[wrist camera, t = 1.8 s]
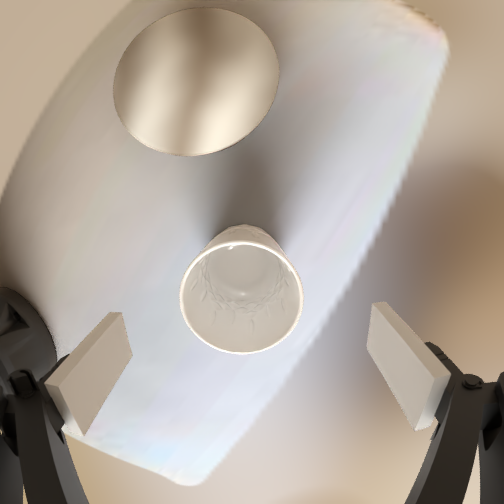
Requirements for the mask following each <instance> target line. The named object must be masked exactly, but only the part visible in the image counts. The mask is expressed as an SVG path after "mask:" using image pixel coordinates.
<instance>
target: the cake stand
mask: <svg viewBox="0 0 504 504" xmlns="http://www.w3.org/2000/svg"><path fill="white" fill-rule="evenodd" d="M278 82H279V64H278V58H277V55H276V52H275V49H274V47H273V45H272V43H271V41H270V40H269V38H268V37H267V35H266V34H265V33H264V32H263V31H262V30H261V29H260V28H259V27H258V26H257V25H256V24H255V23H253V22H252V21H251V20H249V19H247V18H245V17H244V16H242V15H239V14H237V13H234V12H232V11H228V10H224V9H218V8H204V7H202V8H192V9H186V10H182V11H178V12H175V13H172V14H170V15H167V16H165V17H163V18H161V19H159V20H157V21H156V22H154V23H152V24H151V25H150V26H148V27H147V28H145V29H144V30H143V31H142V32H141V33H140V34H139V35H138V36H137V37H136V38H135V39H134V40H133V41H132V42H131V43H130V45H129V46H128V48H127V49H126V50H125V52H124V54H123V56H122V58H121V59H120V62H119V64H118V67H117V69H116V73H115V78H114V85H113V97H114V103H115V107H116V110H117V113H118V116H119V118H120V120H121V122H122V124H123V125H124V126H125V128H126V129H127V130H128V132H129V133H130V134H131V135H132V136H133V137H134V138H136V139H137V140H138V141H140V142H141V143H142V144H144V145H146V146H148V147H150V148H152V149H155V150H157V151H160V152H163V153H168V154H172V155H179V156H199V155H205V154H210V153H214V152H218V151H221V150H224V149H227V148H229V147H231V146H233V145H235V144H237V143H238V142H240V141H241V140H242V139H244V138H245V137H246V136H247V135H248V134H250V133H251V132H252V131H253V130H254V129H255V128H256V127H257V126H258V125H259V124H260V122H261V121H262V120H263V119H264V117H265V116H266V114H267V113H268V111H269V109H270V107H271V105H272V103H273V101H274V98H275V94H276V91H277V88H278Z"/></svg>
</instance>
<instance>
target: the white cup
mask: <svg viewBox="0 0 504 504" xmlns="http://www.w3.org/2000/svg"><path fill="white" fill-rule="evenodd" d="M179 301H180V308H181V311H182V314H183V317H184V319H185V321H186V323H187V325H188V326H189V328H190V329H191V330H192V332H193V333H194V334H195V335H196V336H197V337H198V338H199V339H201V340H202V341H203V342H205V343H206V344H208V345H209V346H211V347H213V348H215V349H218V350H220V351H224V352H227V353H233V354H252V353H257V352H261V351H264V350H267V349H269V348H271V347H273V346H275V345H277V344H278V343H280V342H281V341H282V340H284V339H285V338H286V337H287V336H288V335H289V334H290V333H291V332H292V330H293V329H294V327H295V326H296V324H297V323H298V321H299V318H300V316H301V313H302V309H303V302H304V293H303V287H302V283H301V280H300V277H299V275H298V273H297V271H296V269H295V268H294V266H293V265H292V263H291V262H290V260H289V259H288V257H287V256H286V254H285V253H284V251H283V250H282V248H281V247H280V246H279V245H278V243H277V242H276V241H275V240H274V239H273V238H272V237H271V236H270V235H269V234H267V233H266V232H265V231H264V230H263V229H262V228H259V227H255V226H251V225H247V224H242V225H237V226H232V227H228V228H227V229H225V230H224V231H223V232H222V233H220V234H218V235H217V236H216V237H214V238H213V239H212V240H211V241H210V242H209V243H208V244H207V245H206V246H205V247H204V249H203V250H202V251H201V252H200V253H199V254H198V256H197V257H196V258H195V259H194V260H193V261H192V262H191V264H190V265H189V266H188V268H187V270H186V271H185V273H184V276H183V278H182V281H181V285H180V291H179Z"/></svg>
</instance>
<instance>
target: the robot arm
mask: <svg viewBox="0 0 504 504" xmlns="http://www.w3.org/2000/svg"><path fill="white" fill-rule="evenodd" d="M367 349H368V351H369V353H370V355H371V356H372V358H373V360H374V361H375V363H376V365H377V366H378V368H379V370H380V372H381V373H382V375H383V377H384V378H385V380H386V382H387V383H388V385H389V387H390V389H391V391H392V392H393V394H394V396H395V398H396V399H397V401H398V403H399V405H400V406H401V408H402V410H403V412H404V414H405V415H406V417H407V419H408V421H409V423H410V424H411V426H412V428H413V430H414V431H417V430H420V429H423V428H427V427H430V425H431V423H432V421H433V418H434V416H435V417H436V419H437V420H438V422H439V423H438V425H437V427H436V429H435V431H434V433H433V435H432V437H431V440H432V441H431V444H430V446H429V449H428V452H427V454H426V457H425V459H424V462H423V464H422V467H421V469H420V472H419V474H418V476H417V478H416V481H415V483H414V485H413V487H412V489H411V491H410V494H409V496H408V498H407V500H406V502H405V504H462V502H463V500H464V497H465V493H466V490H467V486H468V483H469V479H470V476H471V472H472V467H473V463H474V459H475V454H476V450H477V445H478V447H479V460H480V504H504V372H502V373H501V374H500V376H499V378H498V380H497V382H490V383H484V382H483V380H482V379H481V378H479V377H478V376H475V375H472V374H463V373H462V372H461V371H460V370H459V369H458V367H457V366H456V365H455V364H454V363H453V362H452V361H451V360H450V359H448V357H447V356H446V355H445V354H444V352H443V351H442V350H441V349H440V348H439V347H438V346H436V345H434V344H432V343H431V342H426V343H423V341H421V339H420V338H419V337H418V336H417V335H416V334H415V333H414V332H413V331H412V329H411V328H410V327H409V326H408V325H407V324H406V323H405V322H404V321H403V320H402V319H401V318H400V317H399V316H398V315H397V314H396V312H395V311H394V310H393V309H392V308H391V307H390V306H389V305H388V304H387V303H386V302H379V303H372V309H371V318H370V326H369V333H368V341H367ZM132 356H133V355H132V352H131V348H130V344H129V340H128V336H127V332H126V328H125V324H124V320H123V316H122V313H119V312H110V313H109V314H108V315H107V316H106V317H105V318H104V319H103V320H102V321H101V322H100V323H99V324H98V325H97V326H96V327H95V328H94V329H93V330H92V331H91V332H90V333H89V334H88V335H87V337H86V338H85V339H84V340H83V341H82V342H81V343H80V344H79V345H78V346H77V347H76V348H75V349H74V350H73V352H72V353H71V354H68V355H66V356H64V357H63V358H61V359H60V360H59V361H58V362H57V358H56V352H55V347H54V344H53V341H52V339H51V336H50V334H49V332H48V330H47V328H46V326H45V324H44V323H43V321H42V319H41V318H40V316H39V315H38V314H37V312H36V311H35V310H34V308H33V307H32V306H31V305H30V304H29V303H28V302H27V301H26V300H25V299H24V298H23V297H22V296H21V295H19V294H18V293H16V292H15V291H13V290H11V289H8V288H5V287H0V429H1V431H2V435H1V433H0V504H23V484H24V489H25V493H26V498H27V502H28V504H89V502H88V500H87V498H86V495H85V493H84V490H83V488H82V485H81V483H80V480H79V478H78V476H77V472H76V469H75V467H74V464H73V461H72V458H71V455H70V452H69V448H68V445H67V442H66V439H65V435H64V433H63V431H62V429H61V428H62V426H63V425H64V423H65V425H66V426H67V428H68V430H69V432H70V433H73V434H77V435H81V436H85V434H86V432H87V431H88V429H89V427H90V425H91V424H92V422H93V420H94V418H95V417H96V415H97V413H98V412H99V410H100V408H101V407H102V405H103V403H104V401H105V400H106V398H107V396H108V395H109V393H110V391H111V390H112V388H113V387H114V385H115V383H116V382H117V380H118V378H119V377H120V375H121V373H122V372H123V370H124V369H125V367H126V365H127V364H128V362H129V361H130V359H131V357H132Z"/></svg>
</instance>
